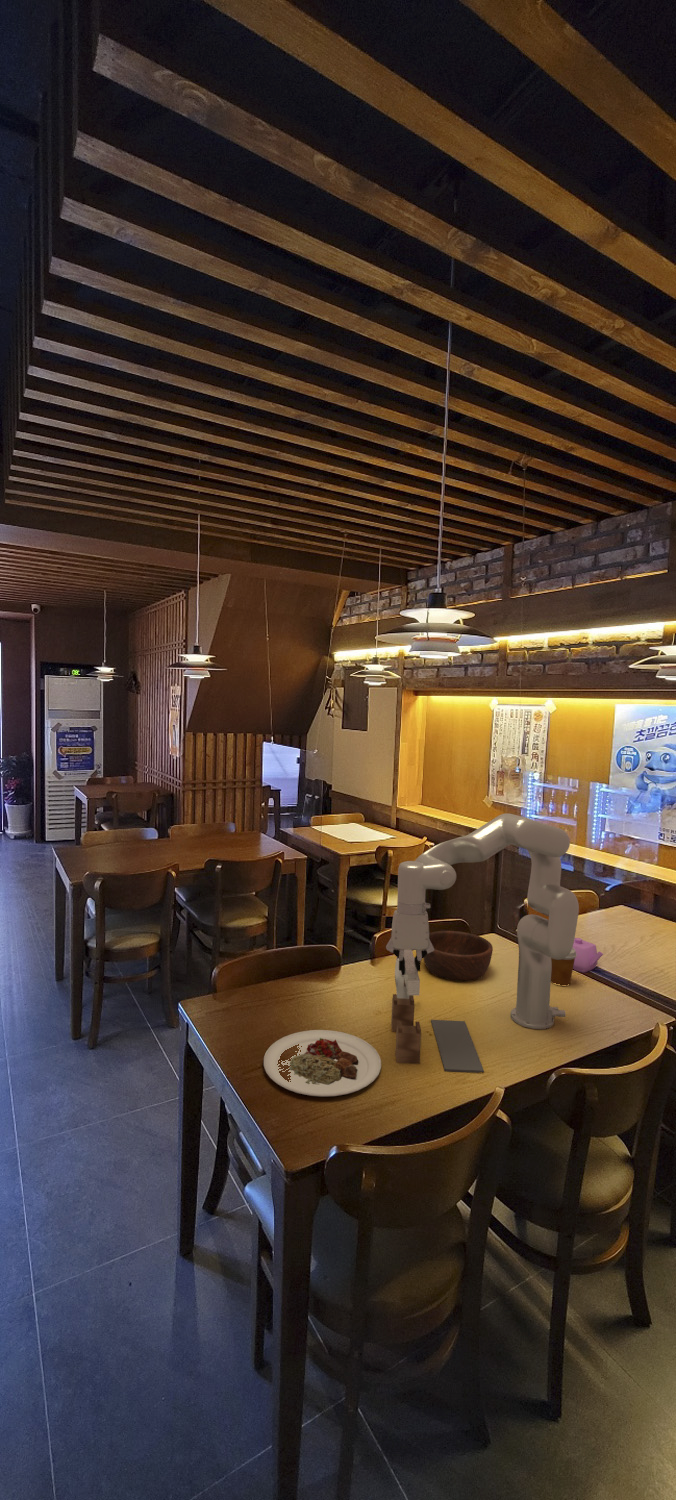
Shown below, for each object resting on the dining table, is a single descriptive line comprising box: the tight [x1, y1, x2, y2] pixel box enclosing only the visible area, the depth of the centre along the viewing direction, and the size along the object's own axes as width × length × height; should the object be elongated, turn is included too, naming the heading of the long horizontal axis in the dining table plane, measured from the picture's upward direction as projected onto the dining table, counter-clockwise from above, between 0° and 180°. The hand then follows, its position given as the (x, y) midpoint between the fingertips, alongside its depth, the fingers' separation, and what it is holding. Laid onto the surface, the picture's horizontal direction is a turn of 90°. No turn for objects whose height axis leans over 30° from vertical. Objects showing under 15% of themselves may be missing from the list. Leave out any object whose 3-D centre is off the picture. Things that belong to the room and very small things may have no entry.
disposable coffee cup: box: [551, 948, 577, 985], centre depth 218 cm, size 10×10×12 cm
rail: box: [404, 950, 421, 996], centre depth 173 cm, size 3×22×4 cm, turn 179°
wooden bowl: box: [422, 930, 494, 982], centre depth 225 cm, size 25×25×10 cm
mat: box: [430, 1019, 485, 1074], centre depth 173 cm, size 10×26×1 cm, turn 179°
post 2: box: [395, 1021, 422, 1065], centre depth 165 cm, size 6×4×9 cm, turn 89°
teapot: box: [572, 937, 604, 974], centre depth 233 cm, size 18×10×10 cm, turn 38°
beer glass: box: [394, 956, 416, 999], centre depth 195 cm, size 7×7×15 cm
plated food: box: [263, 1029, 382, 1097], centre depth 161 cm, size 30×30×3 cm
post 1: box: [390, 993, 415, 1033], centre depth 181 cm, size 6×4×9 cm, turn 89°
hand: (409, 972), depth 173 cm, fingers closed on rail, 3 cm apart
